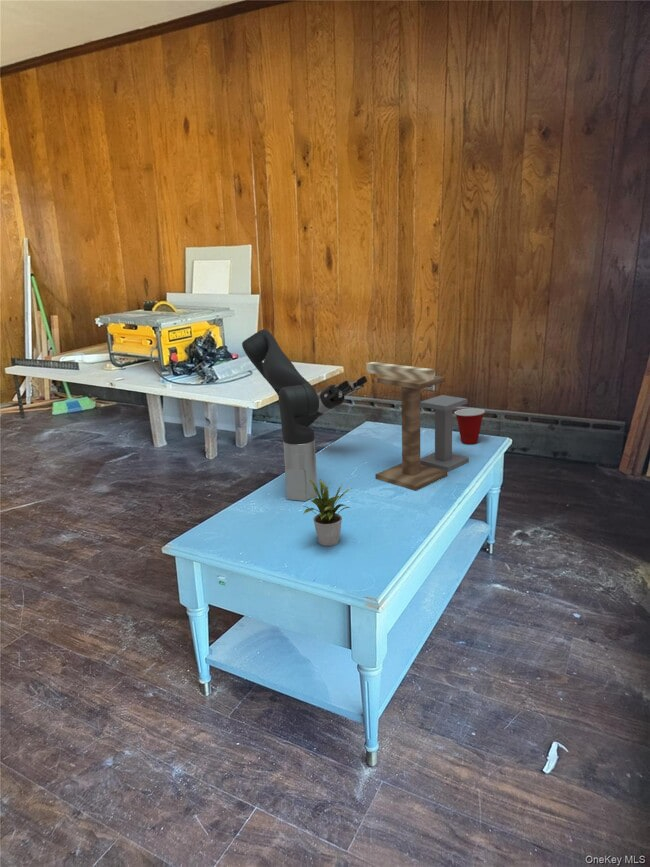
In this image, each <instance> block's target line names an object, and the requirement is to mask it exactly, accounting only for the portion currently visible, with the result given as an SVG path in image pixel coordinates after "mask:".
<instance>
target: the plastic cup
mask: <svg viewBox="0 0 650 867" xmlns="http://www.w3.org/2000/svg"><path fill="white" fill-rule="evenodd" d="M485 411H486V410H485V409H482V408H481V409H480V408H463V409H458V410H456V411H454V416H455V417H456V420H457V425H458V432H459V437H460V442H461V444H464V445H476V444H478V441H479V436H480V434H481V426H482V422H483V417H484V414H485V413H486V412H485Z"/></svg>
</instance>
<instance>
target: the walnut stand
mask: <svg viewBox="0 0 650 867" xmlns="http://www.w3.org/2000/svg"><path fill="white" fill-rule="evenodd" d="M445 379H446V378H445V376H441V375H440V376H439V375H434V380H430V381H423V380H416V379H409V378H402V377H394V376H387V375H382V376H379V377H377V380H376V381H377V384H384V385H389V386H396V387H401V388H400V394H401V463H399V464H397V465H394V466H392V467H389V468H387V469H385V470H382V471H379V472H378V473H375V480H379V481H381V482H386V483H389V484H392V485H395V486H398V487H401V488H405V489H409V490H412V491H415V492H416V490H417V491H419V490H421V489H423V488H425V487H427V486H430V485H431V483H432V484H433V482H434V483H435V481H436V482H438V481H440V480H442V479H445V478H446V477H449V476H448V474H449V472H448V471H444V470H440V469H436V468H433V467H429V466H425V465H421V464H420V459H421V407H420V402H421V390H422V389H425V388H428V387H432V386H436V385H439V384H442V383H445V381H446V380H445ZM441 478H442V479H441ZM439 479H440V480H439ZM437 480H438V481H437ZM422 487H423V488H422ZM420 488H421V489H420ZM418 489H419V490H418Z"/></svg>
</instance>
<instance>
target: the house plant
mask: <svg viewBox="0 0 650 867" xmlns="http://www.w3.org/2000/svg"><path fill="white" fill-rule="evenodd" d="M306 479H307V478H306ZM308 480H309V479H308ZM309 481H310V482H311V484H312V485H313V487H314V490H315V492H316V494H317V497H314V498H312V497H311V499H310V502H311V503H313V504H315V506H316V507H317V508H318V509H316V508H314V507H311V508H310V507H308V506H306V505H303V508H304V507H305V508H306V509H305V510H304V512H303V515H305V514H307V513H308V512H313V513H314V514H316V515H314V517H313V518H312V519H313V524H314V528H315V532H316V536H317V540H318V544H319V545H322V546H325V547H330V546H332V547H333V546H335V545H337V544H339V542H340V536H341V530H342V520H343V517H342V515H341V514H340V512H342V511H343V510H345V509H351V507H350V506H347V505H346V504H344V503H343V504H341V503H340V504H337V503H338V501H340V499H341V498H342V497H343V496H344V495H345V494H346V493H347V492H349V491H350V490H353V489H354V487H349V488H348V489H346V490H345V491H344V492H343V493H342V494H341V495H339V494H340V491H341V489H342V486H343V483H341V485H340V486H339V488H338V489H337V492H336V494H335V495H334V496H332V497H330V495H329V485H330V483H331V481H329V482H328V485H327V484H326V483H325V481H322V479H319V486H320V487H319V489H320V490H319V489H318V486H317V487H316V485H315V484H314V482H312V481H311V480H309ZM304 491H305V490H304ZM319 491H320V492H319ZM306 492H307V491H306ZM304 493H305V492H304ZM308 493H309V492H308ZM308 495H309V494H308ZM343 506H345V507H343ZM340 507H343V508H341V509H340V510H339V508H340ZM314 510H316V511H317V512H319V513H317V512H315V511H314ZM338 510H339V511H338ZM337 511H338V513H336V512H337Z"/></svg>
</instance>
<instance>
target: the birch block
mask: <svg viewBox="0 0 650 867" xmlns="http://www.w3.org/2000/svg"><path fill="white" fill-rule="evenodd" d="M365 365H366V373H368V374H373V375H381V376H394V377H402V378H409V379H416V380H423V381H430V380H434V376H435V369H434V368H426V367H419V366H410V365H402V364H395V363H393V364H392V363H386V362H385V363H384V362H378V361H377V362H376V361H370V362H366V364H365Z"/></svg>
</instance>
